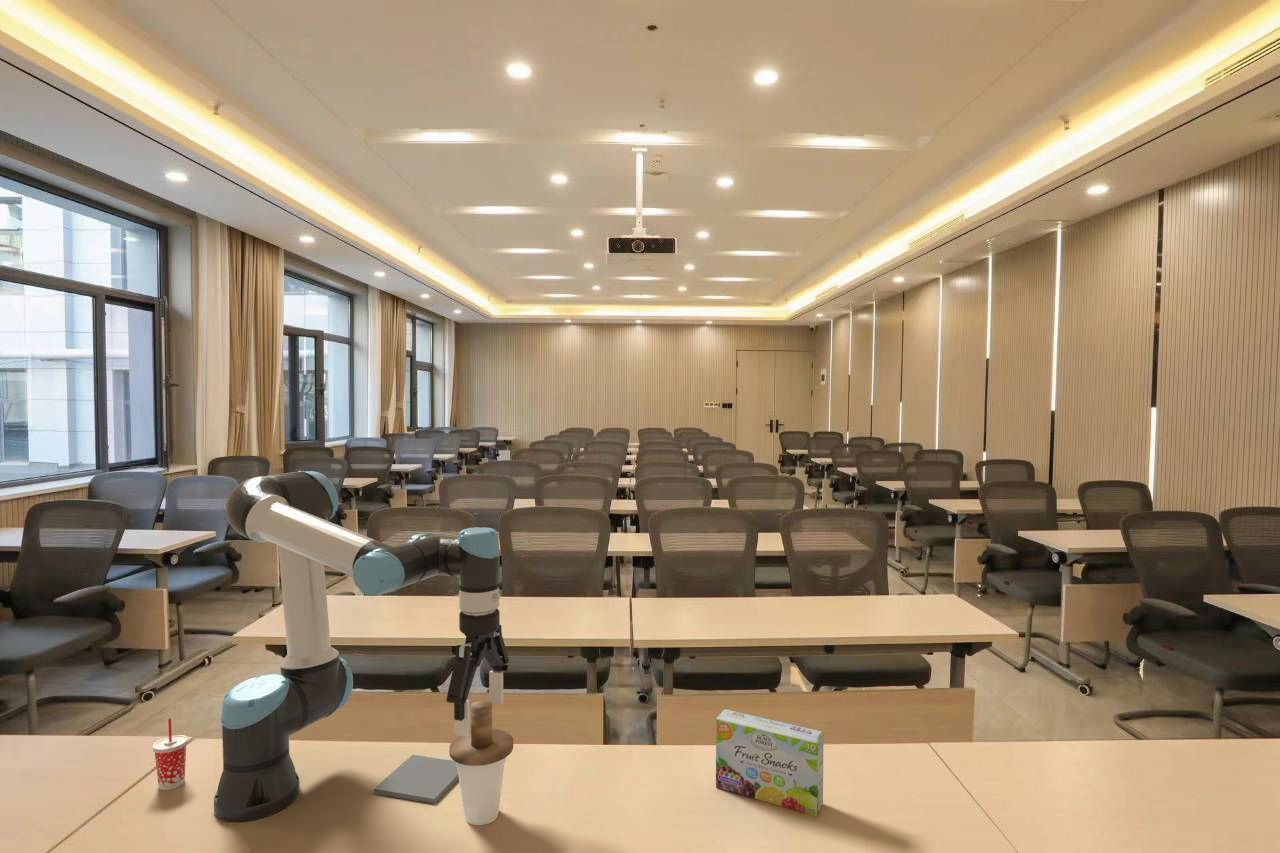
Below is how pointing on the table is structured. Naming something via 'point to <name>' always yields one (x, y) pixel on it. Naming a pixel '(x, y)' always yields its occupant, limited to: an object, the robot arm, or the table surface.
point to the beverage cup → (170, 760)
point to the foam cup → (481, 791)
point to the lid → (481, 739)
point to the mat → (419, 779)
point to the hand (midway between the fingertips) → (479, 718)
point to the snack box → (770, 761)
